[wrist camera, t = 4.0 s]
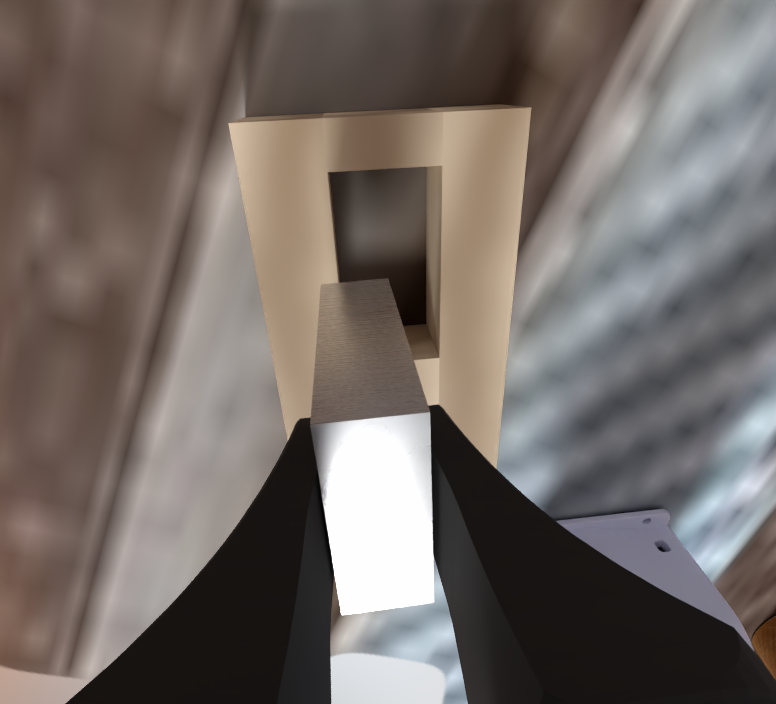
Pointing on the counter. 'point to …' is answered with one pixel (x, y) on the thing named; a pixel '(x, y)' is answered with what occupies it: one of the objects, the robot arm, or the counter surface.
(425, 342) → the slotted wooden frame
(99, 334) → the counter surface
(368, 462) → the steel bracket tab
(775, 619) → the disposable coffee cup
